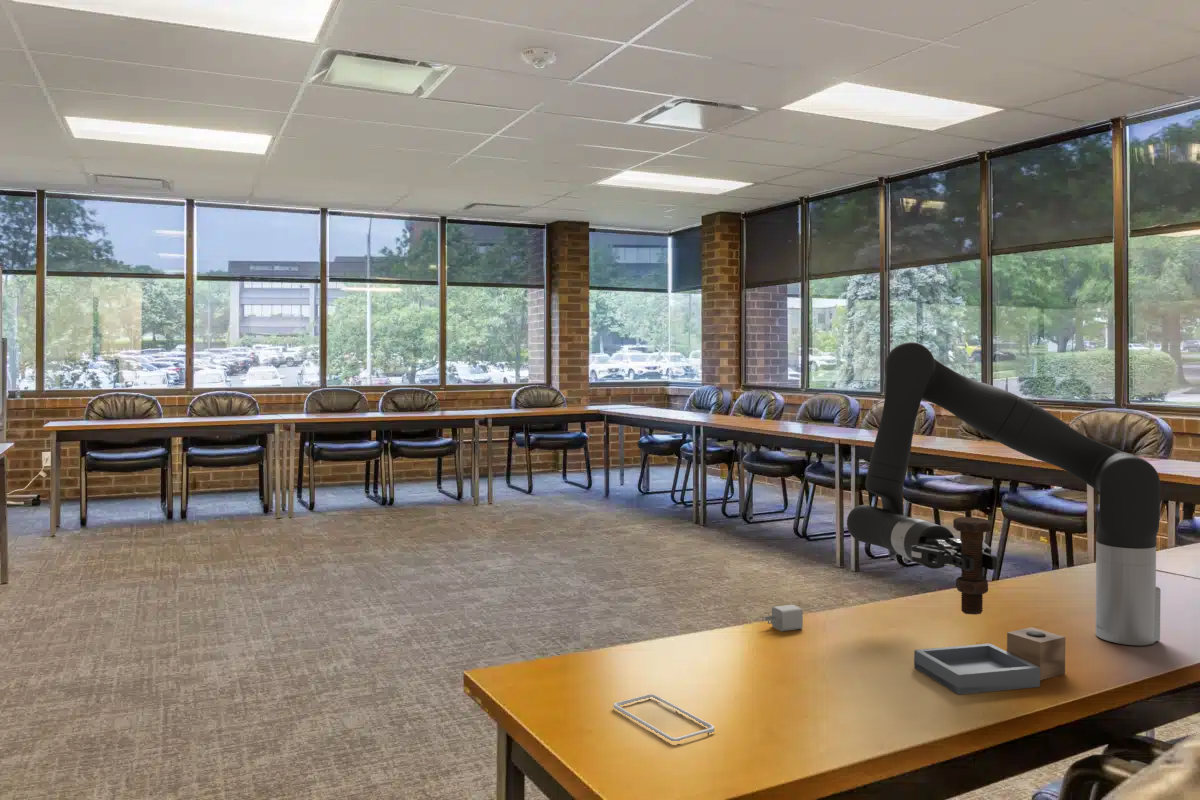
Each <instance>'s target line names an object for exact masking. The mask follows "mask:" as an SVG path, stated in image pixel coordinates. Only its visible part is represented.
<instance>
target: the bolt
mask: <svg viewBox="0 0 1200 800" xmlns="http://www.w3.org/2000/svg"><path fill="white" fill-rule="evenodd" d="M952 522H953V525H952V526H953V528H954V530H956V531H957V532H959V533H960V534H959V535H960V536H959V537H960V540H961V553H962V554H965V555H967V556H970V557H973V558H974V571H966V570H963V569H961V568H960V576H958V577H957V578H956V579H955V587H956V590H957V591H958V592H959V593H960V594H961V595H960V596H961V597H960V598H961V599H960V603H961V605H960V611H962V613H963V614H965V615H972V616H973V615H976V616H977V615H981V614H982V613H983V611H984V609H983V607H984V605H983V604H984V601H983V599H984V598H983V596H984V594H986V593H988V592H989V583H988V580H987V579H986V578H983V577H984V575H983V574H984V573H983V572H984V571H983V570H984V567H983V560H982V559H983V558H982V557H983V556H982V555H983V554H982V553H983V552H982V551H983V550H982V549H983V542H984V533H988V532H989V533H991V532H992V524H991V522H990V520H989V519H986V518H982V517H975V516H974V517H973V516H972V517H971V516H967V517H966V516H961V517H960V516H959V517H956V518H954V519H953V521H952Z"/></svg>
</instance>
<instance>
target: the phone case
mask: <svg viewBox="0 0 1200 800" xmlns="http://www.w3.org/2000/svg"><path fill="white" fill-rule="evenodd" d="M650 697H653V698H655V699H657V700H659V701H660V702H661V703H664V704H665V705H667V706H668V707H670V706H671V708H672V707H673V708H672V709H674V708H675V709H677V710H679V711H680V712H682V713H684V714H686V715H688V716H689V717H691V718H693V719H695V720H696V721H698V722H699V723H702V724H703V725H704V726H707V727H708V729H706V728H704V729H702V730H699V731H695V732H692V733H687V734H685V735H682V736H678V737H674V736H671V735H669V734H667V733H666V732H663V731H662V730H661V729H659V728H657V727H656V726H653V725H652V724H651V723H649V722H647V721H645V720H644V719H642V718H640V717H638V716H637V715H635V714H633V713H631V712H630V711H628V710H627V709H625V708H624V707H620V705H624V704H627V703H631V702H634V701H638V700H641V699H646V698H650ZM614 708H615V709H617V710H618V711H620V712H622V713H623V714H625V715H627V716H629V717H631V718H632V719H634V720H636V721H638V722H639V723H641V724H643V725H645V726H646V727H648V728H650V729H651V730H654V731H655V732H656V733H659V734H660V735H662V736H664V737H665V738H667V739H669V740H671V741H680V740H684V739H689V738H692V737H695V736H698V735H703V734H705V733H707V734H708V733H712V732H714V731H715V726H714V725H713V724H712V723H709V722H708V721H705V720H703V719H701V718H700V717H698V716H696V715H694V714H692V713H690V712H689V711H686V710H685V709H683V708H681V707H679V706H678V705H675V704H674V703H671V702H670V701H668V700H666V699H664V698H662V697H660V696H658V695H656V694H654V693H649V694H645V695H644V694H643V695H641V696H637V697H632V698H629V699H626V700H625V699H624V700H621V701H617V702H613V709H614ZM675 709H674V710H675Z"/></svg>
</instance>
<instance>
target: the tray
mask: <svg viewBox="0 0 1200 800" xmlns="http://www.w3.org/2000/svg"><path fill="white" fill-rule="evenodd" d="M913 653H914V654H913V656H914V657H913V659H914V660H913V662H914V663H913V665H914V666H913V667H914V669H915V668H916V669H915V670H917V671H919V672H920V671H921V672H920V673H922V674H924V675H925V676H927V677H929V678H930V679H932V680H933V681H936V682H937V683H938V684H940V685H942V686H943V687H945V688H947V689H949V690H950V691H952V692H954V694H956V695H958V696H959V695H970V694H977V693H978V694H979V693H989V692H999V691H1010V690H1020V689H1021V690H1022V689H1031V688H1038V687H1039V688H1040V687H1041V680H1040V667H1038V666H1036V665H1034V664H1032V663H1030V662H1028V661H1026V660H1023V659H1021V658H1019V657H1017V656H1015V655H1013V654H1011V653H1009V652H1007V650H1004V649H1003V648H1000V647H998V646H996V645H994V644H992V643H990V642H989V643H981V644H969V645H967V644H966V645H956V646H954V645H953V646H943V647H933V648H932V647H931V648H920V649H914V651H913Z"/></svg>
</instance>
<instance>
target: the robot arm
mask: <svg viewBox="0 0 1200 800" xmlns="http://www.w3.org/2000/svg"><path fill="white" fill-rule="evenodd" d="M884 374H885V393H884V402H883V408H882V414H881V418H880V422H879V427H878V430H877V433H876V436H875V440H874V443H873V444H874V445H873V447H872V451H871V455H870V460H869V464H868V468H867V474H866V479H865V488H866V491H868V492H869V493H871V494H874V495H876V496H877V497H880V501H881V504H882V507H878V506H873V505H868V504H860V505H857V506H855V507H853V509H851V511H850V512H849V513H848V515H847V518H846V528H847V530H848V532H849V534H850V536H851V537H852V538H853V539H854V540H857V541H859V542H861V543H865V544H869V545H874V546H876V547H877V546H878V547H881V548H884V549H886V550H889V551H890V552H892V553H895V554H897V555H900V556H902V557H903V558H905V559H906V560H909V561H911V562H913V563H916V564H918V565H921V566H923V567H926V568H927V569H931V570H932V569H933V570H939V569H942V568H945V567H950V568H952V569H955V568H957V569H960V570H961V569H963V570H966V571H974V558H973V557H970V556H967V555H965V554H962V553H961V539H959V538H955V536H954V534H953V533H952V531H951V530H950V529H948V528H947V527H945V526H943V525H939V524H936V523H934V522H931V521H927V520H923V519H920V518H912V517H909V516H907V515H905V512H904V510H905V509H904V486H905V481H906V476H907V472H908V466H909V463H910V462H909V461H910V457H911V450H912V443H913V439H914V437H913V436H914V431H915V430H914V429H915V425H916V421H917V417H918V413H919V409H920V406H921V402H922V400H925V401H927V402H929V403H932V404H934V405H936V406H939V407H941V408H942V409H944V410H946V411H948V412H949V413H951V414H952V415H954V416H955V417H956V418H958V419H960V420H961V421H962V422H964V423H966V424H967V425H969V426H970V427H972V428H973V429H975V430H976V431H978V432H981V433H982V434H984V435H985V436H987V437H989V438H990V439H992V440H994V441H997V442H998V443H1000V444H1001V445H1004V446H1005V447H1007V448H1010V449H1012V450H1013V451H1016V452H1019V453H1020V454H1022V455H1025V456H1028V457H1029V458H1033V459H1035V460H1039V461H1041V462H1044V463H1047V464H1050V465H1053V466H1054V467H1058V468H1059V469H1062V470H1063V471H1065V472H1067V473H1069V474H1071V475H1072V476H1074V477H1076V478H1077V479H1079V480H1080V481H1083V482H1084V483H1085V484H1087V485H1088V486H1090V487H1091V488H1093V489H1094V490H1096V491H1097V492H1098V493H1099V505H1098V506H1099V508H1098V509H1099V510H1098V511H1099V513H1098V514H1099V515H1098V523H1097V526H1096V531H1095V533H1096V534H1095V535H1096V538H1095V541H1096V542H1095V543H1096V544H1095V553H1096V554H1095V635H1096V637H1098V638H1099V639H1102V640H1105V641H1107V642H1111V643H1115V644H1119V645H1127V646H1150V645H1153V644H1155V642H1159V641H1161V596H1162V595H1161V591H1162V590H1161V588H1160V587H1159V586H1157V536H1158V534H1159V530H1160V519H1161V517H1160V516H1161V511H1160V510H1161V480H1160V475H1159V474H1158V471H1157V469H1156V468H1155V467H1154V466H1153V465H1152V464H1151V463H1150V462H1149V461H1147V460H1146V459H1144V458H1142V457H1139V456H1137V455H1135V454H1132V453H1129V452H1126V451H1122V450H1120V449H1118V448H1115V447H1111V446H1109V445H1107V444H1104V443H1103V442H1100V441H1096V440H1094V439H1092V438H1090V437H1088V436H1086V435H1084V434H1082V433H1080V432H1079V431H1077V430H1076V429H1074V428H1073V427H1071V426H1070V425H1069V424H1067V423H1066V422H1064V421H1063V420H1062V419H1059V418H1058V416H1056V415H1054V414H1052V413H1050V412H1049V411H1047V410H1045V409H1044V408H1042V407H1040V406H1039V405H1038V404H1037V405H1036V404H1034V403H1033V402H1031V401H1029V400H1026V399H1025V398H1023V397H1021V396H1019V395H1017V394H1015V393H1013V392H1010V391H1008V390H1005V389H1004V388H999V387H997V386H996V385H995V386H994V385H991V384H988V383H985V382H982V381H978V380H975V379H972V378H970V377H967V376H965V375H963V374H961V373H960V372H959V373H958V372H957V371H955V370H954V369H952V368H950V367H948V366H946V365H945V364H943V363H942V362H940V361H938V360H937V359H936V358H935V357H934V355H933V353H932V352H931V351H930V350H929V348H928V347H926V346H925V345H923V344H921V343H919V342H915V341H909V342H903V343H900V344H898V345H896V346H895V347H894V348H892V349H891V350H890V352H889V353H888V354H887V356H886V359H885V361H884ZM982 550H983V551H982V552H983V553H982V554H983V555H982V556H983V557H982V558H983V559H982V560H983V569H987V570H990V571H993V570H994V571H996V570H997V568H998V558H997V556H995V555H993V554H992V548H991V547H990V546H989V545H988V544H986V542H984V541H983V549H982Z"/></svg>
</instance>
